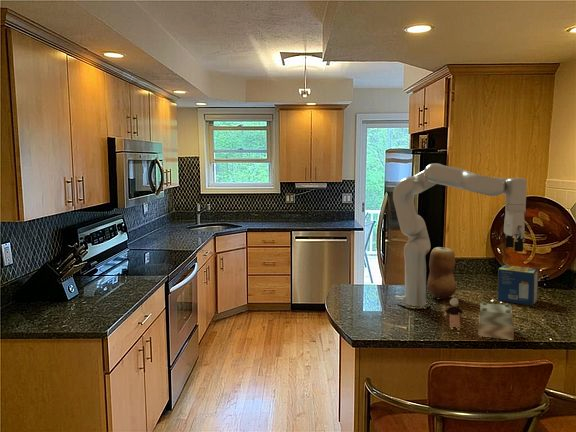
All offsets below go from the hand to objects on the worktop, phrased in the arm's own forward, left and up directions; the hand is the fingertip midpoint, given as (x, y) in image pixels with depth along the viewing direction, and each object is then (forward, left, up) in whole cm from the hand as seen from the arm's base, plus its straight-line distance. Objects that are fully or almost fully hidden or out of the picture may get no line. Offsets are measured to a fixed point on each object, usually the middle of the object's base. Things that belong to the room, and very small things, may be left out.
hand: (513, 249), depth 188 cm
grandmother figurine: (-22, -21, -30) cm, 43 cm away
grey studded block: (-7, -21, -30) cm, 37 cm away
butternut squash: (-30, +22, -30) cm, 48 cm away
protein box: (+4, +29, -30) cm, 42 cm away
